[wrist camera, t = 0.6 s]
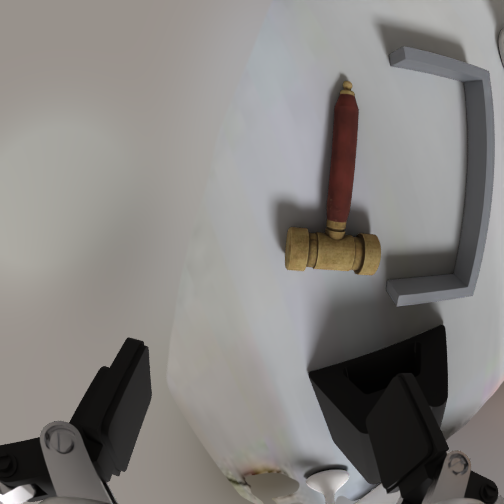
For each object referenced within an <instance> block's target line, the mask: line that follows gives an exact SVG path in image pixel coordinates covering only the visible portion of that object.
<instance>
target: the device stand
mask: <svg viewBox="0 0 504 504" xmlns="http://www.w3.org/2000/svg"><path fill="white" fill-rule="evenodd" d="M399 373H412V374H413V375H414V377H415V379H416V381H417V383H418V385H419V386H420V388H421V390H422V392H423V394H424V396H425V398H426V400H427V402H428V404H429V406H430V408H431V410H432V413H433V415H434V417H435V419H436V421H437V423H438V425H439V427H440V426H441V422H442V419H443V415H444V411H445V407H446V402H447V398H448V366H447V345H446V332H445V327H444V326H443V325H440V326H438V327H436V328H433V329H431V330H429V331H426V332H424V333H422V334H419V335H417V336H415V337H412V338H410V339H407V340H405V341H402V342H400V343H397V344H394V345H392V346H389V347H386V348H384V349H381V350H378V351H375V352H373V353H370V354H367V355H364V356H361V357H358V358H355V359H352V360H349V361H345V362H342V363H339V364H336V365H332V366H329V367H326V368H322V369H319V370H315V371H311V372H309V374H308V375H309V378H310V381H311V383H312V386H313V389H314V391H315V394H316V397H317V399H318V402H319V404H320V407H321V410H322V412H323V415H324V418H325V420H326V423H327V426H328V428H329V431H330V434H331V436H332V439H333V441H334V443H335V444H336V445H337V446H338V448H339V449H340V450H341V451H342V452H343V454H344V455H345V456H346V457H347V458H348V460H349V461H350V462H351V463H352V464H353V466H354V467H355V468H356V469H357V470H358V471H359V473H360V474H361V475H362V476H363V477H364V478H365V479H366V481H367V482H368V483H370V484H377V483H379V482H381V478H380V474H379V470H378V467H377V463H376V459H375V455H374V452H373V448H372V444H371V441H370V437H369V434H368V430H367V427H366V418H367V416H368V415H369V413H370V412H371V410H372V409H373V408H374V406H375V405H376V403H377V402H378V400H379V399H380V397H381V396H382V394H383V393H384V391H385V390H386V388H387V387H388V385H389V384H390V382H391V380H392V379H393V378H394V377H396V375H397V374H399Z"/></svg>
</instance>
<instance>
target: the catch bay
mask: <svg viewBox="0 0 504 504" xmlns="http://www.w3.org/2000/svg"><path fill="white" fill-rule="evenodd" d="M389 57H390V64H391V66H392V67H398V68H404V69H410V70H415V71H420V72H425V73H429V74H434V75H438V76H442V77H446V78H450V79H453V80H457V81H461V82H464V87H465V96H466V109H467V128H468V164H467V184H466V197H465V207H464V216H463V224H462V231H461V237H460V244H459V249H458V255H457V260H456V265H455V270H454V274H445V275H436V276H425V277H415V278H404V279H392V280H387V287H386V291H387V292H388V294H389V295H390V297H391V298H392V300H393V301H394V303H395V304H396V306H397V307H398V306H406V305H414V304H422V303H429V302H436V301H443V300H450V299H456V298H463V297H469V296H473V294H474V290H475V286H476V283H477V279H478V275H479V271H480V267H481V262H482V258H483V253H484V248H485V243H486V237H487V231H488V225H489V218H490V211H491V202H492V192H493V180H494V157H495V133H494V112H493V99H492V90H491V82H490V74H489V71H487V70H485V69H482V68H479V67H477V66H474V65H471V64H468V63H465V62H462V61H459V60H456V59H453V58H450V57H446V56H443V55H439V54H435V53H432V52H428V51H424V50H419V49H415V48H410V47H406V46H403V47H401V48H400V49H398V50H396V51H394V52H393V53H391V54H389Z"/></svg>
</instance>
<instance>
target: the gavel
mask: <svg viewBox="0 0 504 504" xmlns="http://www.w3.org/2000/svg"><path fill="white" fill-rule="evenodd" d="M343 88H344V90H341V91H340V95H339V98H338V100H337V103H336V105H335V109H334V127H333V142H332V155H331V167H330V178H329V188H328V198H327V223H326V226H327V227H326V229H325V233H321V232H316V233H308V229H307V228H296V227H290V228H289V229H288V232H287V240H286V249H285V267H286V269H287V270H297V271H304V270H305V268H306V267H313V269H326V270H341V271H349V270H354V272H355V274H359V275H373V274H374V273H375V272H376V271H377V269H378V266H379V263H380V258H381V246H380V242H379V239H378V237H377V236H376V235H373V234H363V233H359V234H358V235H357V236H356V237H353V236H352V235H345V230H344V229H346V222H347V218H348V215H349V212H350V206H351V198H352V189H353V180H354V170H355V158H356V146H357V131H358V113H359V109H358V106H357V103H356V99H355V94H354V92H353V91H351V88H352V83H351V82H349V81H344V83H343Z"/></svg>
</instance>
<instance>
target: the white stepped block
mask: <svg viewBox="0 0 504 504" xmlns="http://www.w3.org/2000/svg"><path fill="white" fill-rule="evenodd" d="M446 452H447V454H448V451H446ZM400 495H401V494H400V491H398V492H395V493H390V494H387V492H386V489H385V488H383V486H382V483H381V484H380V485H379V486H377V487H376V488H375V489H373V490H372V491H371V492H369V493H368V494H367V495H365V496H364V497H363V498H361V499H360V500H358V501H357V502H356V503H355V504H396V503H397V501H398V499H399V497H400Z"/></svg>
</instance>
